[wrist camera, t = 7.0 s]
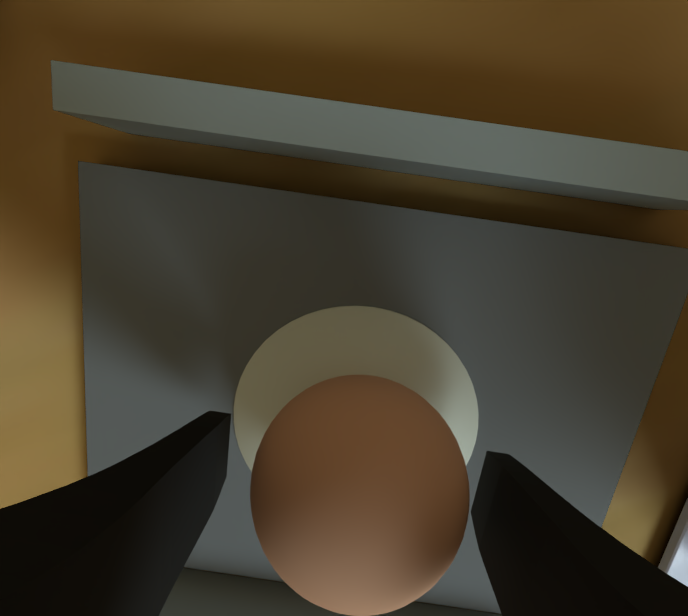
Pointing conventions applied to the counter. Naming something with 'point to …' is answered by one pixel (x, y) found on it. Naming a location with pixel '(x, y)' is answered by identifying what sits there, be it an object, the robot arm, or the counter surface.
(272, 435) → the ball
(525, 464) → the mat
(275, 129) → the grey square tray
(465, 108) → the counter surface
